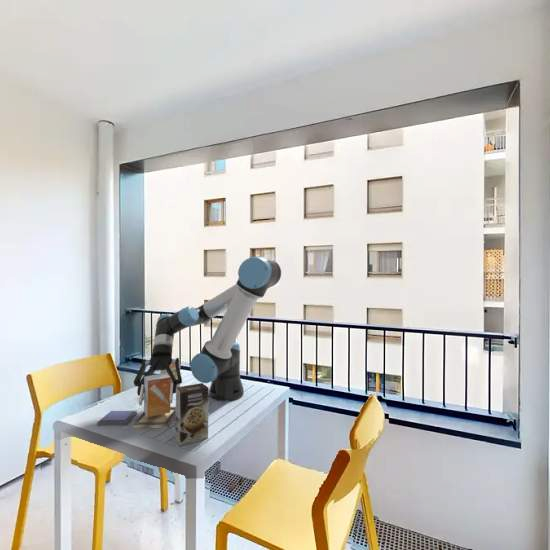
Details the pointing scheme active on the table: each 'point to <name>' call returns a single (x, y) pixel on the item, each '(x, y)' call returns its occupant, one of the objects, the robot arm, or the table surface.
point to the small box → (157, 394)
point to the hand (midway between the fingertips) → (155, 402)
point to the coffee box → (191, 413)
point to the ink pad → (117, 418)
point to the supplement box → (173, 369)
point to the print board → (155, 420)
